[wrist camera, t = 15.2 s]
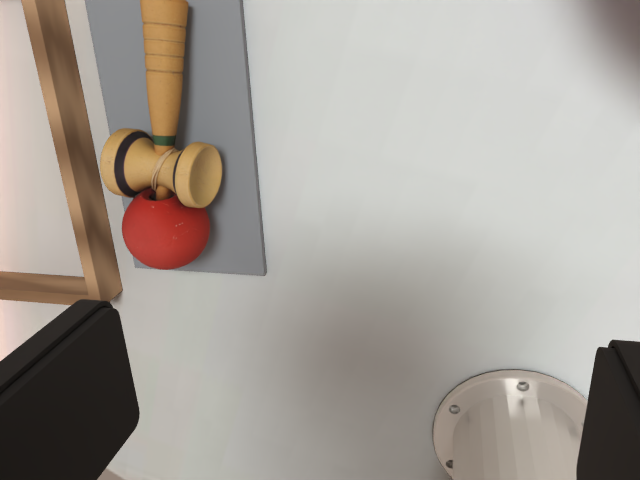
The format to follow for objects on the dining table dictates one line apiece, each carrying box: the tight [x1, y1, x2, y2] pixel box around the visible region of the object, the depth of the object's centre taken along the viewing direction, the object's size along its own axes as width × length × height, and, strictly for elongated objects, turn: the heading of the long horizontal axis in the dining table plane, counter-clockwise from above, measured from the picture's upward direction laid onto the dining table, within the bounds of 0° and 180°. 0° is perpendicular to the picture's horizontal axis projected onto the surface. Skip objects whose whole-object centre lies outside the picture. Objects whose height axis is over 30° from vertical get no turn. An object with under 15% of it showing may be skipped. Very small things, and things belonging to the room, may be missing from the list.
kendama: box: [100, 0, 222, 270], centre depth 38 cm, size 8×6×18 cm
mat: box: [85, 0, 267, 276], centre depth 40 cm, size 20×11×1 cm, turn 2°
